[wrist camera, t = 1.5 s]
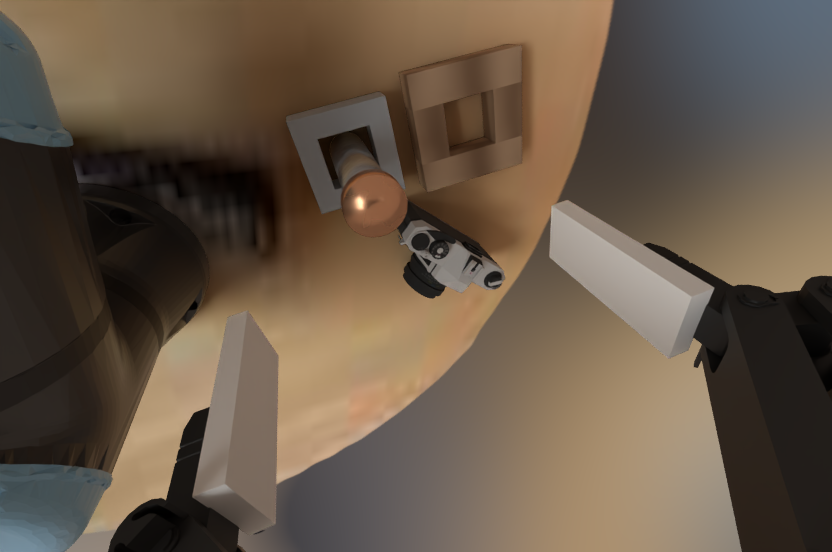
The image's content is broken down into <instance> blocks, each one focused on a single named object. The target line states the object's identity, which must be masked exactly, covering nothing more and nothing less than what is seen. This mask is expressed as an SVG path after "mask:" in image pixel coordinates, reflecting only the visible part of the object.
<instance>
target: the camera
mask: <svg viewBox="0 0 832 552" xmlns="http://www.w3.org/2000/svg"><path fill="white" fill-rule="evenodd" d="M407 202H408V207H407V212H406V215H405V218H404V220H403V221H402V223H401V224H400V225H399V226H398V227H397V229H398V230H399V232H400V234H401V236H402V238H403V239H400V237H399V236H398V237H399V239H400V241H399V243H400V245H404V244H406V245H407V246H408V248H409V250H411V251H413V252H414V253H413V255H412V256H411V262H408V263H407V265H406V266H405V268H404V272H405V273H404V274H403V277H404V279H405V281H406V282H407V283H408V284H409V285H410V286H411V287H412V288H413V289H414V290H415V291H417V292H418V293H420V294H421V295H423V296H425V297H427V298H435V296H440V295H441V294H442V292H443V291H444V290H445V287H446V286H447V287H449V288H451V289H454V290H456V291H458V292H460V293H462V292H463V291H464V290H465V289H466V288H467V287H468V286H469V285H470V283H471V282H473V283H475V284H477V285H479V286H481V287H483V288H485V289H486V290H493V289H497V288H498V287H500V286H501V284H502V282H503V280H504V279H505V275H504V271H503V270H502V269H501V268H500V267H499V265H498V264H497V263H496V262H495V261H494V260H493V259H492V258H491V257H490V256H489V255H488V253H487V252H486V251H485V250H484V249H483V248H482V247H481V246H480V244H479V243H478V242H476V241H475V240H473V239H471V238H470V237H468V236H467V235H465V234H463V233H462V232H460V231H458V230H457V229H455V228H453V227H452V226H450V225H448V224H447V223H445V222H444V221H442V220H440V219H439V218H437V217H435V216H434V215H432V214H430V213H429V212H427V211H426V210H424V209H422V208H421V207H419V206H417V205H416V204H414V203H412V202H411V201H409V200H407Z"/></svg>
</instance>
